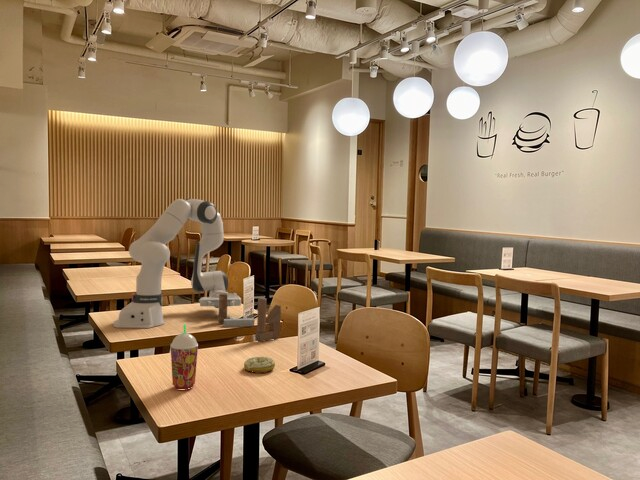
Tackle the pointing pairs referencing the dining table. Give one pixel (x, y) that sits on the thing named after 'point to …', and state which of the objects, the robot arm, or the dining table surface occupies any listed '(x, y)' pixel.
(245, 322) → the socket
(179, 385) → the smoothie
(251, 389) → the dining table surface
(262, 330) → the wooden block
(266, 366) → the decorated donut
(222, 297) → the plank
